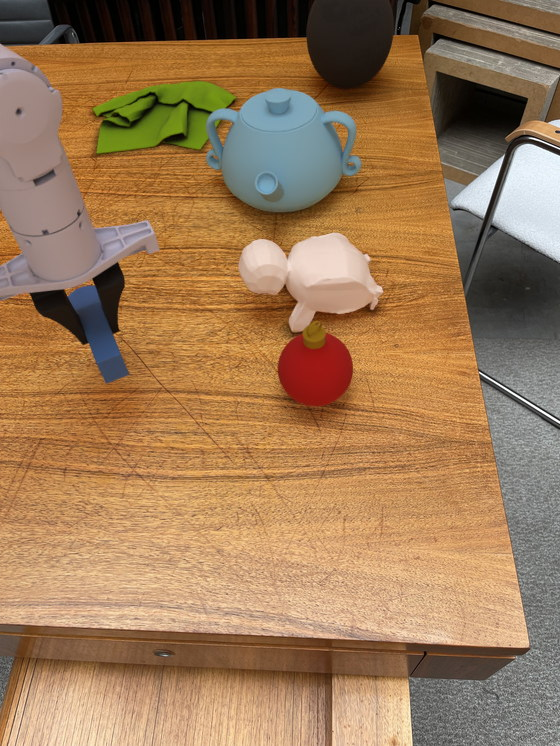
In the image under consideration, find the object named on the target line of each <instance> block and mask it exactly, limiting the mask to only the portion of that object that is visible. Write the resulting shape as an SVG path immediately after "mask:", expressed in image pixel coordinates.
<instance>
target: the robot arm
mask: <svg viewBox="0 0 560 746" xmlns="http://www.w3.org/2000/svg"><path fill="white" fill-rule="evenodd" d="M63 107H64V105H63V99H62V94H61V91H60V90H59V89H56V88H54V87H52V84H51V82H50V80H49V78H48V77H47V75H46V74H45V73H44V71H42V70H41V68H39V67H37V66H36V65H35V64H34V63H32V62H30V61H29V60H27V59H26V58H24V57H23V56H21V55H19V54H17V53H16V52H15V51H13V50H12V49H10V48H8V47H7V46H5V45H3V44H1V43H0V211H1V213H2V216H3V218H4V220H5V221H6V223H7V226H8V227H9V230H10V231H11V234H12V235H13V237H14V240H15V241H16V243H17V245H18V248H19V249H20V251H21V253H19V254H18V255H16V256H14V257H13V258H11V259H10V260H8V261H6V262H5V263H3V264H1V265H0V302H2V301H4V300H9V299H11V298H14V297H17V296H19V295H22V294H29V296H30V299H31V300H32V302H33V305H34V308H35V310H36V311H37V313H38V314H39V315H41V316H42V317H44V318H46V319H49V320H51V321H53V322H54V323H57V324H59V325H60V326H62V327H63V328H65V329H66V330H67V331H68V332H70V333H71V334H72V336H74V337H75V338H76V339H77V340H78V341H79V343H80V344H81V345H82V346H85V345H89V343H88V340H87V338H86V335H85V332H84V330H83V327H82V324H81V322H80V319H79V316H78V314H77V312H76V311H75V309H74V307H73V306H72V304H71V302H70V300H69V298H68V296H69V295H68V294H67V292H66V289H67V290H68V289H73V288H76V287H79V286H81V285H83V284H85V283H87V282H89V281H91V280H92V283H93V284H94V285H93V286H95V287H96V290H97V293H98V296H99V299H100V303H101V306H102V309H103V311H104V314H105V316H106V318H107V321H108V323H109V326H110V328H111V331H112V333H113V335H115V334H117V333H120V326H119V307H120V306H119V305H120V301H121V296H122V294H123V292H124V289H125V288H126V282H125V281H126V279H125V275H124V273H123V270H122V268H121V266H120V261H121V260H123V259H124V258H127V257H130V256H133V255H136V254H139V253H141V252H146V254H148V255H151V254H154V253H157V252H160V251H161V250H160V246H159V242H158V239H157V236H156V232H155V231H154V229H153V227H152V224H151V223H150V220H148V219H146V220H143V221H139V222H134V223H129V224H120V225H112V226H103V227H95V226H94V225H93V222H92V218H91V216H90V214H89V211H88V209H87V206H86V202H85V200H84V198H83V195H82V191H81V189H80V187H79V184H78V181H77V179H76V176H75V174H74V171H73V168H72V166H71V163H70V160H69V157H68V155H67V152H66V150H65V147H64V145H63V144H62V140H61V138H60V135H59V130H60V127H61V123H62V118H63V112H64V110H63V109H64V108H63Z"/></svg>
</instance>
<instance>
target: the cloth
mask: <svg viewBox="0 0 560 746" xmlns="http://www.w3.org/2000/svg"><path fill="white" fill-rule="evenodd" d="M236 100H237V96H235V95H234V94H232V93H231V92H229V91H228V90H226V89H225V88H224V87H221V86H218V85H216V84H214V83H211V82H207V81H203V80H195V81H194V80H193V81H181V82H179V83H170V84H169V83H162V84H157V85H152V86H147V87H144V88H143V89H140V90H136V91H131V92H129V93H127V94H124V95H121V96H116V97H113V98H111V99H109V100H108V101H105V102H103V103H101V104H99V105H97V106H94V107H92V110H93V112H94V114H95V115H96V117H99V116H100V115H101V116H102V117H104V118H103V119H102V121H101V122H100V126H99V133H98V139H97V146H96V155H100V154H109V153H117V152H125V151H126V152H127V151H133V150H141V149H149V148H154V147H157V146H158V145H159V144H160V143H161V142H162V143H163V144H167V145H174V146H178V147H181V148H186V149H192V150H197V151H201V150H202V149H203V147H204V146H205V144H206V143H207V142H208V140H209V138H208V135H207V131H206V122H207V119H208V117H209V116H210V115H211V114H212V113H213V112H214V111H216V110H218V109H223V108H227V107H229V106H230V105H231V104H232V103H233V102H235V101H236ZM221 122H222V120H217V121H215V128H216V129H217V128H218V126H219V124H220V123H221Z"/></svg>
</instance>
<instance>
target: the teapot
mask: <svg viewBox="0 0 560 746" xmlns="http://www.w3.org/2000/svg"><path fill="white" fill-rule="evenodd" d="M217 120H221V121H228V122H232V123H231V125H230V127H229V130H228V132H227V134H226V136H225V140H224V144H223V142H222V141H221V138H220V137H219V134H218V131H217V128H215V121H217ZM333 123H337V124H340V125H341V126H344V127H345V128H346V129H347V139H346V142H345V146H344V148H343V146H342V142H341V139H340V137H339V134H338V132H337V130H336V127H335V126H334V124H333ZM206 131H207V135H208V138H209V139H208V140H209V143H210V145H211V148H210V149H209V150H208V151H207V153H206V155H205V162H206V164H207V166H208V167H210V168H211V169H213V170H216V171H221V174H222V179H223V182H224V184H225V187H226V188H227V189H228V190H229V192H230V193H231V194H232V195H233V196H235V197H236V198H237V199H238V200H239V201H241V202H243V203H245V204H246V205H248V206H250V207H252V208H254V209H256V210H259V211H260V210H261V211H264V212H268V213H292V212H298V211H301V210H305V209H307V208H311V207H312V206H314V205H316V204H317V203H319V202H320V201H322V200H323V199H325V198H326V197H327V196H329V194H330V193H331V192H332V191H333V190H334V189H336V187H337V186H338V184H339V183H340V181H341V179H342V177H343V175H344V176H346V177H353V176H355V175H357V174H359V173H360V171H361V170H362V160H361V158H360V157H359V156H357V155H351V153H352V151H353V148H354V146H355V143H356V138H357V125H356V122H355V120H354V119H353V118H352V116H351V115H350V114H348V113H346V112H344V111H339V110H329V111H326V112H325V111H324V110H323V108H322V107H321V105H320V104H319V103H318V102H317V101H316V100H315V99H314V98H313V97H312V96H310V95H308V94H307V93H304V92H302V91H298V90H294V89H287V88H284V87H275V88H271V89H268V90H267V91H263V92H260V93H258V94H255V95H253V96H252V97H250V98H249V99H248V100H247V101H245V103H243V104H242V106H241V107H240V108H239V110H238V111H236V110H234V109H231V108H227V107H226V108H223V109H218V110H216V111H214V112H213V113H212V114H211V115H210V116H209V117H208V119H207V122H206ZM216 157H217V158H216ZM349 163H351V164H353V165H350V164H349Z"/></svg>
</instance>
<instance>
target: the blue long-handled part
mask: <svg viewBox="0 0 560 746" xmlns="http://www.w3.org/2000/svg"><path fill="white" fill-rule="evenodd" d="M67 296H68V298H69V300H70V302H71V304H72V306H73V307H74V309H75V311H76V312H77V314H78V316H79V319H80V322H81V324H82V327H83V330H84V332H85V335H86V338H87V340H88V346H89V348H90V351H91V354H92V356H93V359H94V361H95V364H96V366H97V368H98V371H99V372H100V375H101V377H102V378H103V381H104V383H105V384H109V383H112V382H115V381H117V380H120V379H122V378H126V377H128V376H129V375H130V371H129V369H128V367H127V364H126V362H125V359H124V357H123V355H122V352H121V350H120V348H119V345H118V343H117V340H116V338H115V334H113V333H112V331H111V328H110V326H109V323H108V321H107V318H106V316H105V314H104V311H103V309H102V306H101V303H100V299H99V296H98V293H97V290H96V287H95V285H83V286H81V287H78V288H76V289H75V290H73V291H72V292H70V293H69V294H68V295H67Z"/></svg>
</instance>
